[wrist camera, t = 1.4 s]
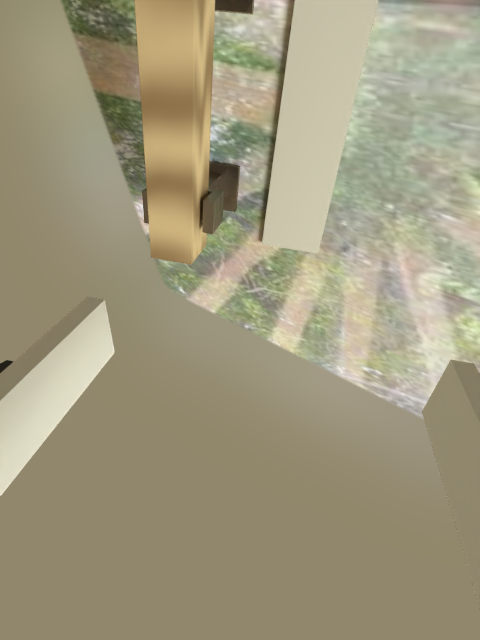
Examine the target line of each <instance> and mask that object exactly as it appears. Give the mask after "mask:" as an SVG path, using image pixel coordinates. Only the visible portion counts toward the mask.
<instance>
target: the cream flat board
mask: <svg viewBox="0 0 480 640" xmlns="http://www.w3.org/2000/svg"><path fill="white" fill-rule="evenodd" d="M377 5H378V0H295V2H294V10H293V17H292V25H291V32H290V39H289V47H288V54H287V62H286V69H285V77H284V84H283V91H282V99H281V106H280V114H279V121H278V128H277V136H276V143H275V151H274V158H273V166H272V173H271V180H270V188H269V195H268V203H267V210H266V217H265V225H264V232H263V240H262V244H264V245H270V246H276V247H282V248H288V249H294V250H300V251H306V252H312V253H318V251H319V247H320V243H321V239H322V235H323V231H324V226H325V222H326V218H327V214H328V210H329V205H330V201H331V197H332V193H333V189H334V185H335V180H336V176H337V172H338V168H339V164H340V159H341V155H342V151H343V147H344V143H345V139H346V134H347V130H348V126H349V122H350V118H351V113H352V109H353V105H354V101H355V97H356V93H357V88H358V84H359V80H360V76H361V72H362V67H363V63H364V59H365V55H366V51H367V46H368V42H369V38H370V34H371V30H372V26H373V21H374V17H375V13H376V9H377Z"/></svg>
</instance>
